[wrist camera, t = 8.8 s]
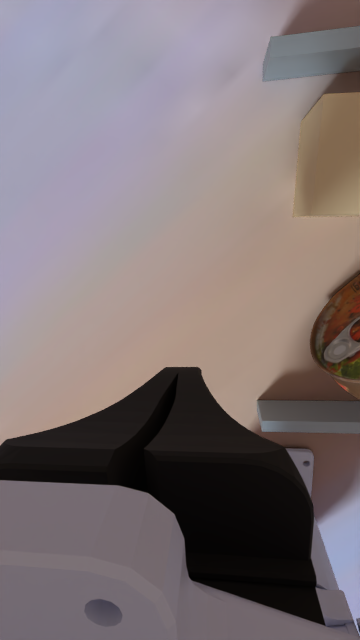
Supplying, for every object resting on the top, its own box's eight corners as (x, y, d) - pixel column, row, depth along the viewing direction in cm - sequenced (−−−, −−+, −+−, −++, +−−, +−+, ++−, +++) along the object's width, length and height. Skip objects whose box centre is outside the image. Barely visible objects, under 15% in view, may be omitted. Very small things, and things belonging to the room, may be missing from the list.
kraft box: (380, 216, 18) (423, 213, 15) (291, 217, 19) (311, 215, 15) (396, 118, 17) (448, 87, 13) (300, 122, 18) (324, 94, 14)
